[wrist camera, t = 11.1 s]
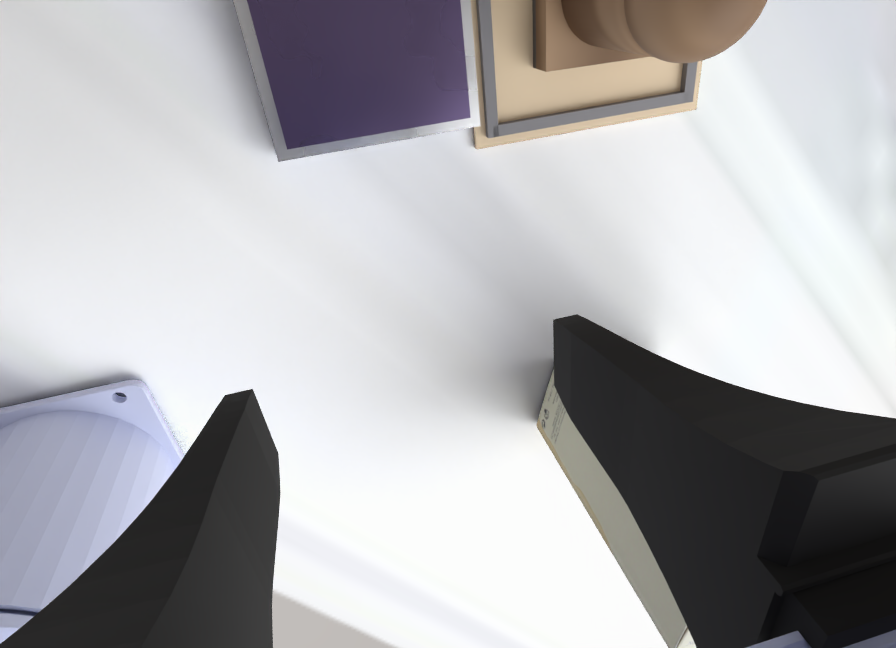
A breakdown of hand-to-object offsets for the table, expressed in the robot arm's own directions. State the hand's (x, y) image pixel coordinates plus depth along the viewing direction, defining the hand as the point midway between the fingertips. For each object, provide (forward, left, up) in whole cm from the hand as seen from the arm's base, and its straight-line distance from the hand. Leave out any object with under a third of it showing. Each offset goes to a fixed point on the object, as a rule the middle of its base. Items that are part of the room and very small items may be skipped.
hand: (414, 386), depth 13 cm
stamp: (+9, +7, -10) cm, 15 cm away
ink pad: (+1, +7, -10) cm, 12 cm away
